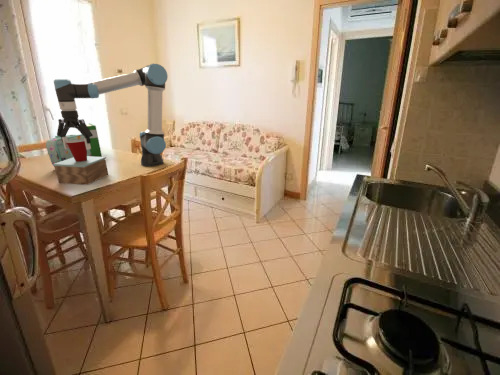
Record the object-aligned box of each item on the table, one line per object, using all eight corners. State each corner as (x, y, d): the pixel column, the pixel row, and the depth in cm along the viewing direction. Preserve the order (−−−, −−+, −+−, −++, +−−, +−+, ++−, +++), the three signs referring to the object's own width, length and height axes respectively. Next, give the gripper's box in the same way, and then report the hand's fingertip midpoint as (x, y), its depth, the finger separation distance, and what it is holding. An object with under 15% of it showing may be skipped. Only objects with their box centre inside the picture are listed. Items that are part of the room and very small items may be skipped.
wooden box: (108, 174, 161) (105, 159, 157) (87, 184, 144) (83, 167, 140) (82, 173, 163) (78, 158, 160) (58, 182, 146) (54, 165, 143)
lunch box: (63, 171, 167) (54, 138, 160) (50, 170, 169) (41, 137, 162) (94, 160, 192) (88, 131, 184) (82, 160, 194) (75, 131, 186)
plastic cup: (87, 157, 157) (83, 137, 152) (95, 160, 150) (90, 139, 146) (67, 160, 149) (61, 139, 144) (74, 164, 143) (68, 142, 138)
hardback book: (85, 153, 212) (79, 124, 203) (95, 152, 217) (89, 123, 208) (91, 157, 200) (84, 126, 191) (101, 156, 205) (95, 125, 196)
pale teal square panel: (106, 158, 157) (105, 157, 157) (83, 167, 140) (83, 165, 140) (78, 157, 160) (78, 155, 159) (53, 165, 143) (53, 164, 142)
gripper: (42, 110, 138) (53, 149, 145) (84, 110, 135) (93, 151, 142) (54, 109, 145) (63, 146, 152) (94, 109, 141) (102, 148, 149)
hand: (78, 148), depth 147 cm, fingers open, 13 cm apart
